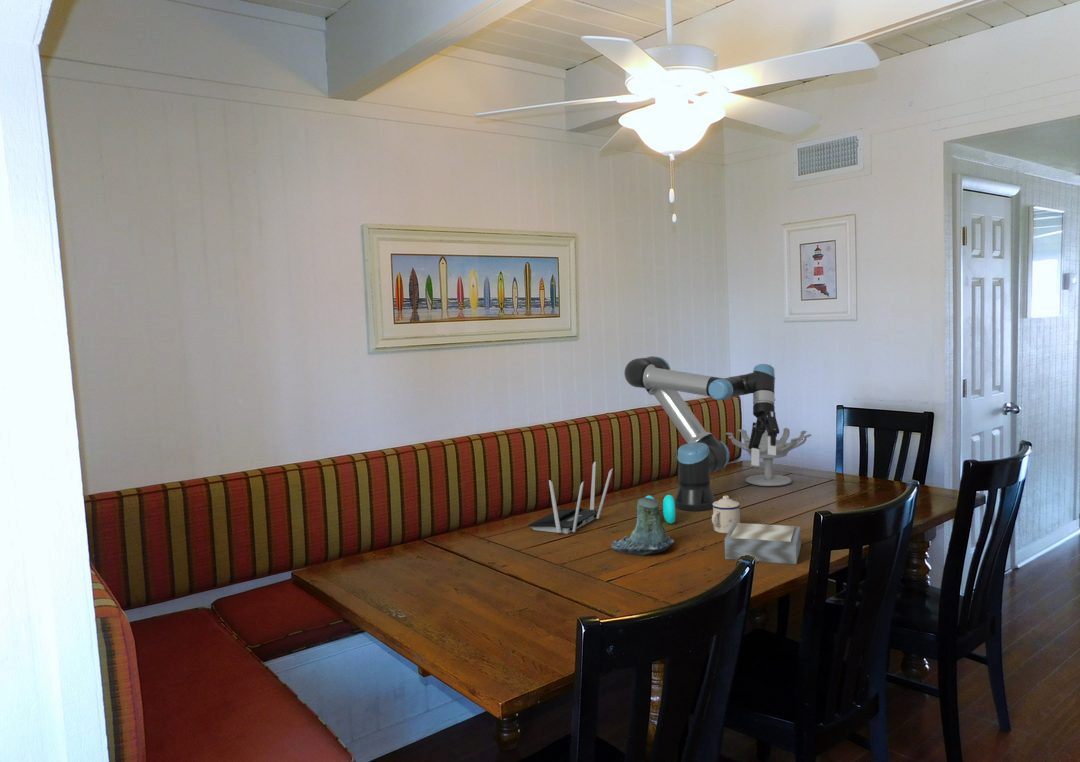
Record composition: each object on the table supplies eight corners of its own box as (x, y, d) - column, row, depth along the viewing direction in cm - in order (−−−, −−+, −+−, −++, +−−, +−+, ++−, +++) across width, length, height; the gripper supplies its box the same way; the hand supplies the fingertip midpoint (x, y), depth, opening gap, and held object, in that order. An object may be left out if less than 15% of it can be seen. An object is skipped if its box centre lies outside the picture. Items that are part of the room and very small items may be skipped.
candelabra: (830, 486, 309) (828, 420, 307) (753, 495, 300) (751, 427, 298) (782, 471, 342) (780, 411, 340) (712, 479, 333) (710, 417, 331)
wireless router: (566, 511, 289) (564, 460, 287) (621, 517, 277) (619, 463, 275) (519, 535, 260) (516, 477, 259) (578, 542, 248) (575, 482, 247)
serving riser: (725, 558, 224) (724, 537, 223) (734, 541, 240) (733, 521, 240) (796, 564, 216) (795, 541, 216) (800, 545, 233) (800, 525, 232)
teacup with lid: (723, 525, 260) (722, 491, 259) (746, 529, 253) (745, 495, 252) (702, 532, 252) (700, 498, 251) (724, 537, 245) (723, 502, 244)
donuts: (676, 526, 261) (675, 498, 260) (647, 527, 262) (645, 499, 261) (673, 519, 271) (671, 491, 270) (644, 520, 271) (643, 492, 271)
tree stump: (651, 536, 253) (659, 484, 247) (684, 568, 234) (693, 513, 229) (600, 541, 246) (606, 489, 241) (629, 575, 227) (637, 519, 222)
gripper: (789, 394, 264) (789, 452, 256) (759, 418, 287) (758, 471, 279) (769, 390, 264) (768, 448, 255) (740, 414, 286) (738, 468, 278)
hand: (763, 460), depth 267 cm, fingers open, 13 cm apart
